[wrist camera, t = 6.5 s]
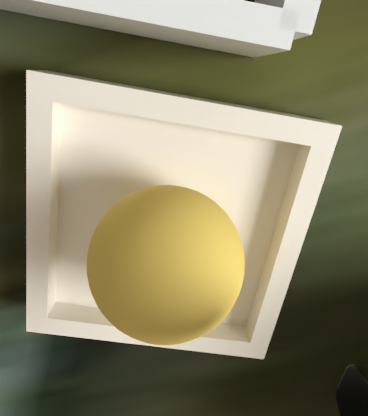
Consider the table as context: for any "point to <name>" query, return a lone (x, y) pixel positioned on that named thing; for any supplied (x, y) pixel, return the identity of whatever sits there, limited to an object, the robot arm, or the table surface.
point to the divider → (189, 20)
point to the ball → (165, 265)
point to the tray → (163, 175)
